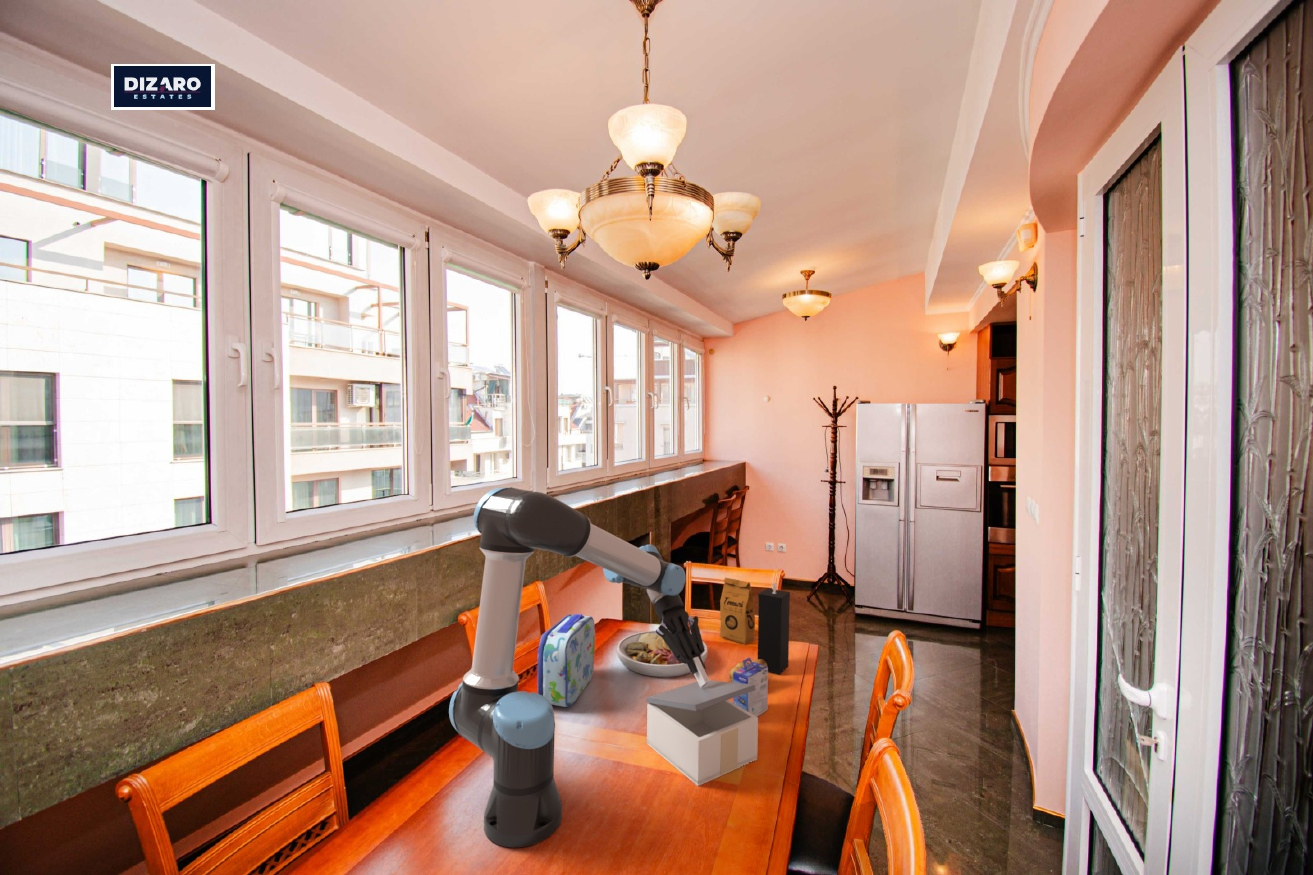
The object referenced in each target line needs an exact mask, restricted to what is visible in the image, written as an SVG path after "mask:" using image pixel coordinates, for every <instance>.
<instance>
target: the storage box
mask: <svg viewBox="0 0 1313 875" xmlns="http://www.w3.org/2000/svg"><path fill="white" fill-rule="evenodd" d="M646 704H647V705H646V706H647V707H646V710H647V711H646V714H647V716H646V744H647V745H648V746H649V747H650V748H651V749H653V750H654V751H655V752H656V753H657V754H659V755H660V756H661V757H662V758H664V759H665V760H666V761H667V762H669V764H671V765H672V766H673V767H674V768H676V769H677V770H678V771H679V772H680V773H682V775H684V776H685V777H686V778H687V779H689V780H690V781H691V782H692V783H693V784H694V785H696V786H697V787H699V786H701V785H704V784H705V783H708V782H710V781H713V780H715V779H717V778H719V777H721V776H724V775H725V774H729V773H730V772H733V771H734V769H735V770H737V769H739V768H741V766H742V767H743V765H744V766H747V765H748V764H750V763H749V762H751V763H753V762H755V761H757V760H758V738H759V736H758V734H759V732H758V729H759V716H757V717H756V716H754V715H753V714H751V713H749V712H748V711H746V710H744V709H743V708H741V707H739V706H738V705H736V704H734V703H733V701H731V700H730V699H729V700H726V701H723V702H720V703H717V704H714V705H712V706H709V707H706V708H703V709H700V710H697V711H694V710H688V709H682V708H676V707H670V706H664V705H658V704H652V703H647V702H646ZM754 760H755V761H754ZM752 761H753V762H752Z"/></svg>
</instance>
